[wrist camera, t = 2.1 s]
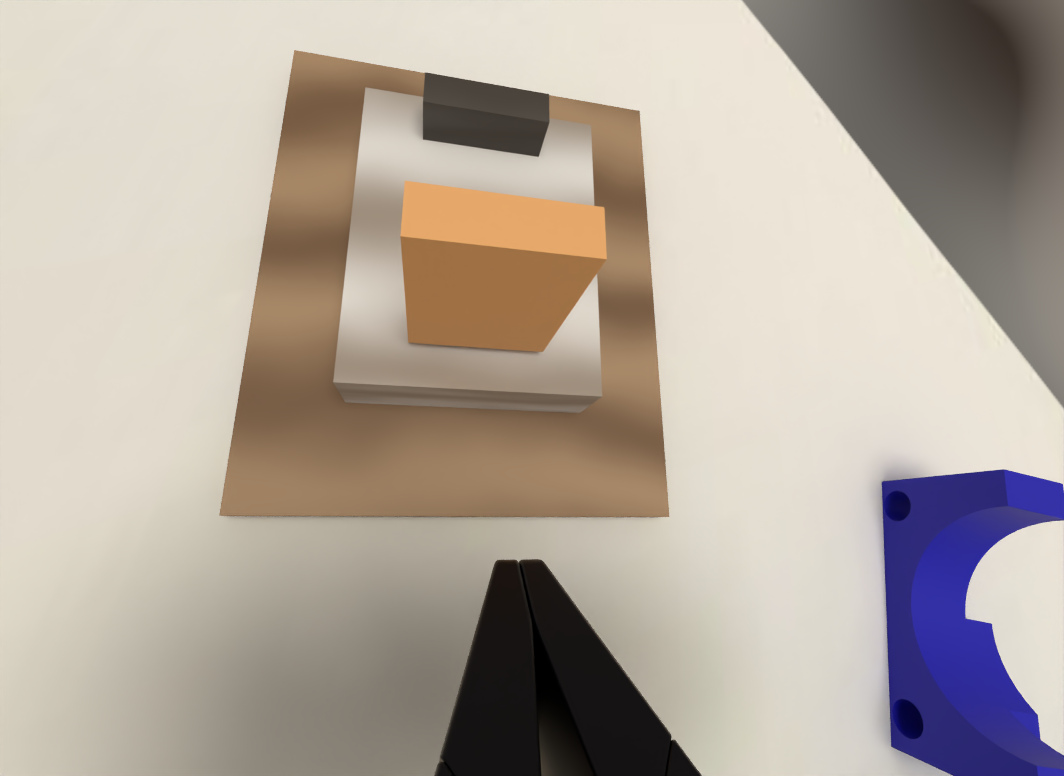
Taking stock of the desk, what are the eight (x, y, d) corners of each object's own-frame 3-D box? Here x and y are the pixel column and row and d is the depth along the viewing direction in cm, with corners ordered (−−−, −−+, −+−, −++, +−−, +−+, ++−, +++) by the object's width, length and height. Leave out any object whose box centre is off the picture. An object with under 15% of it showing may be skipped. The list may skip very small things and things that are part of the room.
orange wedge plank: (542, 315, 19) (542, 352, 19) (411, 304, 18) (408, 342, 18) (604, 207, 13) (606, 259, 12) (404, 180, 12) (400, 236, 11)
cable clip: (970, 756, 23) (1145, 829, 18) (887, 744, 23) (1042, 817, 17) (950, 498, 27) (1091, 490, 21) (878, 481, 26) (1004, 469, 21)
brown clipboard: (658, 516, 23) (736, 513, 17) (229, 515, 19) (149, 511, 14) (632, 124, 29) (683, 26, 23) (299, 68, 25) (263, -65, 20)
